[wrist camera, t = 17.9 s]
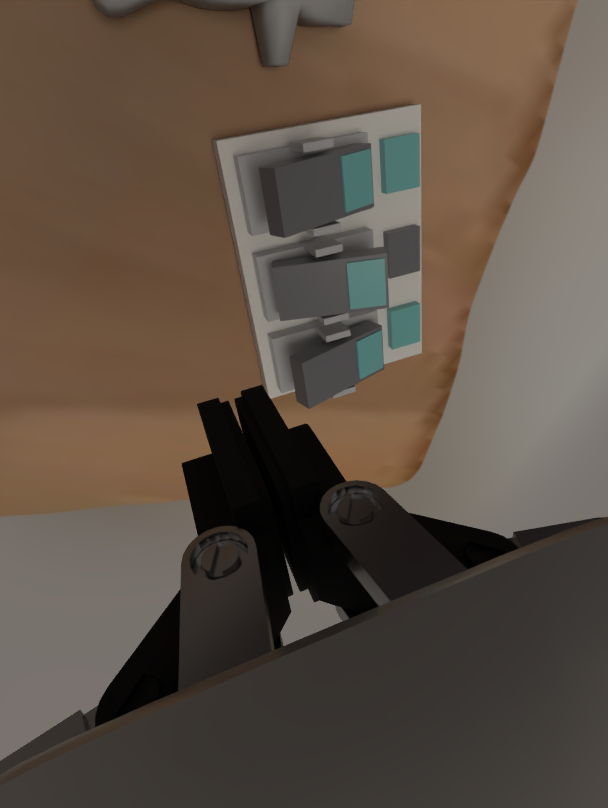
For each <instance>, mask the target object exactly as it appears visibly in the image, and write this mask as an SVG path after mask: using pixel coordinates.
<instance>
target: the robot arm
mask: <svg viewBox="0 0 608 808" xmlns="http://www.w3.org/2000/svg"><path fill="white" fill-rule="evenodd" d="M241 396H242V397H239V398H236V399H235V404H236V408H237V412H238V416H239V420H240V424H241V428H242V431H241V428H240V426H239V424H238V422H237V419H236V417H235V415H234V413H233V410H232V408H231V406H230V404H229V401H226V402H222V403H220V401H219V398H216V399H212V400H209V401H205V402H202V403H199V404H197V406H198V409H199V413H200V416H201V419H202V422H203V426H204V429H205V432H206V436H207V439H208V442H209V445H210V449H211V452H212V454H209V455H206V456H203V457H199V458H196V459H193V460H190V461H187V462H184V463H182V468H183V472H184V477H185V481H186V485H187V490H188V494H189V499H190V503H191V507H192V512H193V516H194V520H195V525H196V529H197V534H198V536H197V537H196V538H195V539H194V540H193V541H192V542H191V543H190V544H189V545H188V547H187V549H186V550H185V552H184V554H183V558H182V562H181V589H180V590H179V592H178V593H177V594H176V596H175V597H174V599H173V600H172V601H171V603H170V604H169V605H168V607H167V608H166V609H165V611H164V612H163V613H162V615H161V616H160V617H159V619H158V620H157V621H156V623H155V624H154V625H153V627H152V628H151V630H150V631H149V632H148V634H147V635H146V636H145V638H144V639H143V640H142V642H141V643H140V644H139V646H138V647H137V648H136V650H135V651H134V653H133V654H132V655H131V656H130V658H129V659H128V661H127V662H126V663H125V665H124V666H123V667H122V669H121V670H120V671H119V673H118V674H117V675H116V677H115V678H114V679H113V681H112V682H111V683H110V685H109V686H108V688H107V689H106V691H105V693H104V694H103V696H102V698H101V700H100V702H99V705H98V706H97V707H95V708H93V709H92V710H90V711H89V712H87V713H86V714H83V713H82V711H81V710H79V711H77V712H76V713H74V714H73V715H71V716H70V717H68V718H67V719H65V720H63V721H62V722H60V723H59V724H57V725H56V726H54V727H53V728H51V729H49V730H48V731H46V732H45V733H43V734H42V735H40V736H39V737H37V738H35V739H34V740H32V741H31V742H30V743H28V744H26V745H24V746H23V747H21V748H20V749H18V750H17V751H15V752H14V753H12V754H10V755H9V756H7V757H6V758H4V759H3V760H1V761H0V808H608V517H601V518H592V519H586V520H581V521H575V522H569V523H563V524H558V525H551V526H546V527H540V528H534V529H528V530H523V531H516V532H513V538H508V539H507V538H505V537H504V536H501V535H499V534H496V533H493V532H490V531H485V530H481V529H477V528H472V527H468V526H464V525H459V524H455V523H451V522H446V521H442V520H438V519H433V518H429V517H425V516H420V515H416V514H411V513H408V512H407V511H406V510H405V509H404V508H402V506H400V505H399V504H398V503H397V502H396V501H395V500H394V499H393V498H392V497H391V496H390V495H389V494H388V493H387V492H386V491H385V490H383V489H382V488H381V487H379V486H378V485H376V484H373V483H370V482H367V481H359V480H355V481H346V480H345V479H344V477H343V476H342V474H341V473H340V471H339V470H338V468H337V467H336V465H335V464H334V462H333V461H332V459H331V458H330V456H329V455H328V453H327V452H326V450H325V449H324V447H323V446H322V444H321V443H320V441H319V440H318V438H317V437H316V435H315V434H314V432H313V431H312V429H311V428H310V427H309V425H308V424H303V425H300V426H296V427H293V428H290V429H288V428H287V426H286V424H285V423H284V421H283V419H282V417H281V416H280V414H279V412H278V411H277V409H276V407H275V406H274V404H273V402H272V401H271V399H270V397H269V396H268V394H267V392H266V390H265V389H264V387H263V386H262V385H260V386H256V387H253V388H249V389H246V390H243V391H241ZM242 432H243V433H242ZM284 555H285V556H284ZM285 557H286V559H287V562H288V564H289V567H290V569H291V571H292V574H293V576H294V579H295V581H296V583H297V586H298V588H299V590H300V591H304V590H306V589H309V592H310V594H311V596H312V599H313V601H314V602H316V601H319V600H320V601H323V602H326V603H330V604H332V605H335V606H336V610H337V613H338V615H339V617H340V619H341V620H342V621H343V622H340V623H338V624H335V625H333V626H331V627H328V628H326V629H324V630H321V631H319V632H316V633H314V634H312V635H309V636H307V637H304V638H302V639H300V640H297V641H295V642H293V643H290V644H288V645H286V646H283V641H282V638H281V634H280V632H281V630H282V628H283V626H284V624H285V622H286V620H287V619H288V617H289V615H290V613H291V608H290V604H289V600H288V597H289V596H291V595H293V590H292V586H291V582H290V577H289V574H288V569H287V565H286V560H285Z"/></svg>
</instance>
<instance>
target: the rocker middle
mask: <svg viewBox="0 0 608 808" xmlns="http://www.w3.org/2000/svg"><path fill="white" fill-rule="evenodd" d="M271 270H272V276H273V282H274V287H275V293H276V299H277V305H278V310H279V316H280V321H287V320H295V319H303V318H311V317H319V316H328V315H336V314H344V313H352V312H360V311H368V310H377V309H385V308H389V290H388V266H387V252H386V250H385V248H384V246H383V247H376V248H368V249H361V250H353V251H346V252H338V253H333V254H329V255H325V256H321V257H317V258H316V257H315V256H308V257H300V258H293V259H285V260H278V261H273V262H272V267H271Z"/></svg>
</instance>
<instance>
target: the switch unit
mask: <svg viewBox="0 0 608 808" xmlns="http://www.w3.org/2000/svg"><path fill="white" fill-rule="evenodd" d="M212 142H213V147H214V152H215V157H216V161H217V166H218V171H219V176H220V180H221V185H222V190H223V195H224V199H225V204H226V209H227V214H228V219H229V223H230V228H231V233H232V238H233V242H234V247H235V252H236V257H237V262H238V266H239V271H240V276H241V281H242V285H243V290H244V295H245V300H246V304H247V309H248V314H249V319H250V324H251V328H252V333H253V338H254V343H255V347H256V352H257V357H258V362H259V367H260V371H261V376H262V381H263V386H264V389H265V390H266V392H267V394H268V396H269V397H270V399H271V398H274V397H278V396H281V395H284V394H288V393H291V392H294V391H295V387H294V381H293V375H292V369H291V364H290V358H289V357H290V356H292V355H294V354H296V353H299V352H301V351H303V350H305V349H307V348H309V347H312V346H314V345H316V344H318V343H320V342H322V341H326V342H330V341H333V340H337V339H340V338H344V337H347V336H351V334H350V328H353V327H355V326H357V325H359V324H361V323H363V322H366V321H368V320H369V321H371V322H374V323H377V324H379V325H382V337H383V357H384V364H387V363H390V362H393V361H397V360H400V359H403V358H406V357H410V356H413V355H416V354H420V353H422V310H421V104H410V105H405V106H399V107H393V108H388V109H382V110H377V111H371V112H366V113H360V114H354V115H349V116H343V117H338V118H332V119H327V120H321V121H315V122H310V123H304V124H299V125H293V126H288V127H282V128H276V129H271V130H265V131H260V132H254V133H249V134H243V135H237V136H232V137H226V138H221V139H215V140H212ZM354 143H371V155H372V174H373V193H374V207H372V208H370V209H367V210H364V211H361V212H358V213H355V214H352V215H349V216H347V217H344V218H341V219H338V220H335V221H332V222H329V223H327V224H324V225H321V226H318V227H315V228H312V229H309V230H306V231H304V232H301V233H298V234H295V235H292V236H289V237H286V238H282V237H277V236H272V235H270V233H269V227H268V221H267V215H266V209H265V203H264V197H263V191H262V185H261V179H260V173H259V167H263V166H267V165H271V164H275V163H279V162H283V161H286V160H290V159H294V158H298V157H302V156H306V155H310V154H314V153H318V152H322V151H326V150H330V149H334V148H338V147H342V146H346V145H350V144H354ZM383 246H384V248H385V250H386V252H387V266H388V290H389V308H385V309H377V310H368V311H360V312H352V313H344V314H336V315H328V316H319V317H311V318H303V319H295V320H287V321H280V316H279V310H278V305H277V299H276V293H275V287H274V282H273V276H272V270H271V267H272V262H273V261H278V260H285V259H293V258H300V257H308V256H315V257H316V258H317V257H321V256H325V255H329V254H333V253H338V252H346V251H353V250H361V249H368V248H376V247H383ZM353 392H356V389H355V386H354V385H353V386H351V387H349V388H347V389H345V390H343V391H342V392H340V393H338V394H336V395H334V396H332V397H333V398H337V397H340V396H343V395H346V394H350V393H353Z"/></svg>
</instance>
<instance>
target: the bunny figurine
mask: <svg viewBox="0 0 608 808" xmlns="http://www.w3.org/2000/svg"><path fill="white" fill-rule="evenodd" d="M155 1H158V0H93V2H94V5H95V7H96V8H97V9H98V10H99V11H101V12H102V13H103V14H104V15H106V16H107V17H123V16H125V15H128V14H130V13H132V12H134V11H136V10H138V9H140V8H143V7H145V6H147V5H149V4H151V3H153V2H155ZM181 1H182V2H184V3H186V4H189V5H192V6H195V7H198V8H201V9H209V10H216V11H234V10H240V9H246V8H250V9H251V13H252V18H253V22H254V27H255V31H256V36H257V40H258V45H259V50H260V54H261V59H262V63H263V66H271V67H277V66H284V65H288V62H289V58H290V53H291V48H292V43H293V39H294V34H295V29H296V25H299V26H307V27H317V26H334V27H343V26H347V25H351V22H352V14H353V7H354V0H181Z"/></svg>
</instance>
